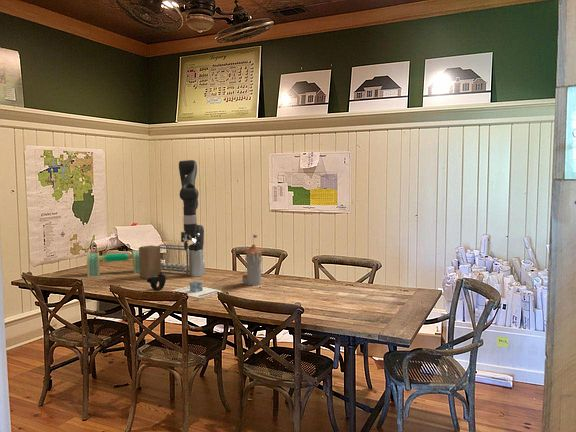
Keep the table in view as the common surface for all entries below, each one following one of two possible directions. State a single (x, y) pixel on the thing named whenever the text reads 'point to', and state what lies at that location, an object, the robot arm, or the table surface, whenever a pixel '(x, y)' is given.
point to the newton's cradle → (173, 261)
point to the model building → (253, 265)
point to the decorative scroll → (94, 259)
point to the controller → (154, 280)
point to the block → (149, 261)
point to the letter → (198, 294)
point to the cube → (196, 286)
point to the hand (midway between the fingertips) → (191, 250)
